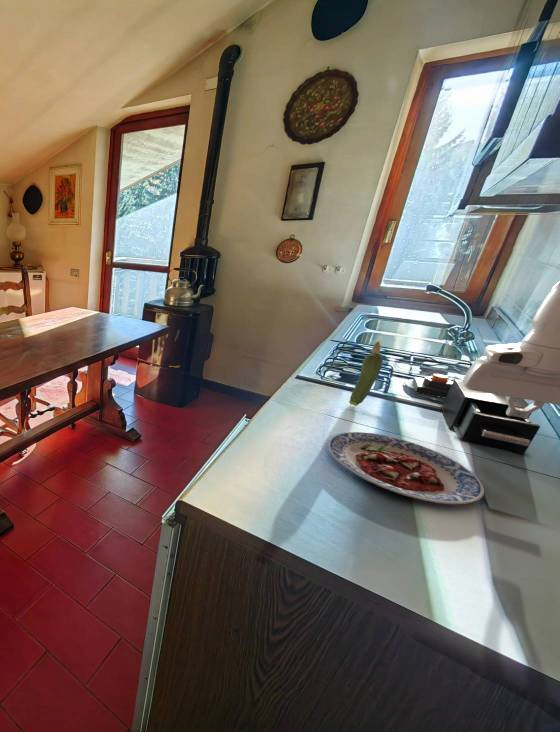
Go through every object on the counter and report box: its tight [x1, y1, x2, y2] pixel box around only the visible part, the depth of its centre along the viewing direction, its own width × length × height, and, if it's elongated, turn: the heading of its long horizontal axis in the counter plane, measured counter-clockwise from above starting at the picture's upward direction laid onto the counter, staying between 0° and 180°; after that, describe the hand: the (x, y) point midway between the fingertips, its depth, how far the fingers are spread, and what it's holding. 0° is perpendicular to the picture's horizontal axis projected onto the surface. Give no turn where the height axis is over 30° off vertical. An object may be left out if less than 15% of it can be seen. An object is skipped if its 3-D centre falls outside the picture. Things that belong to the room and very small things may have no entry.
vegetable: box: [348, 340, 384, 407], centre depth 110 cm, size 4×4×20 cm
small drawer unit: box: [456, 400, 541, 456], centre depth 94 cm, size 18×10×8 cm, turn 144°
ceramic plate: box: [328, 431, 485, 505], centre depth 84 cm, size 26×26×3 cm
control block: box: [411, 375, 454, 399], centre depth 123 cm, size 10×10×4 cm
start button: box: [431, 373, 450, 383], centre depth 122 cm, size 4×4×2 cm
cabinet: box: [440, 378, 532, 432], centre depth 102 cm, size 15×12×10 cm
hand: (515, 416), depth 86 cm, fingers closed
